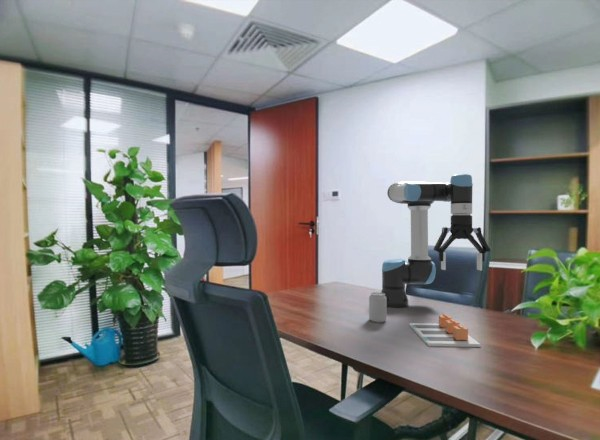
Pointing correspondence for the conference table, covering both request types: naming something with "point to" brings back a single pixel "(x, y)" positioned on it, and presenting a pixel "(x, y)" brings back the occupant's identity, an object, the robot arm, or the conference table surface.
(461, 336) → the tab
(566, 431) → the conference table surface
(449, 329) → the tab
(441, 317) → the orange small block
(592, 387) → the conference table surface
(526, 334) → the conference table surface
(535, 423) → the conference table surface
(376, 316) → the can
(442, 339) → the panel
